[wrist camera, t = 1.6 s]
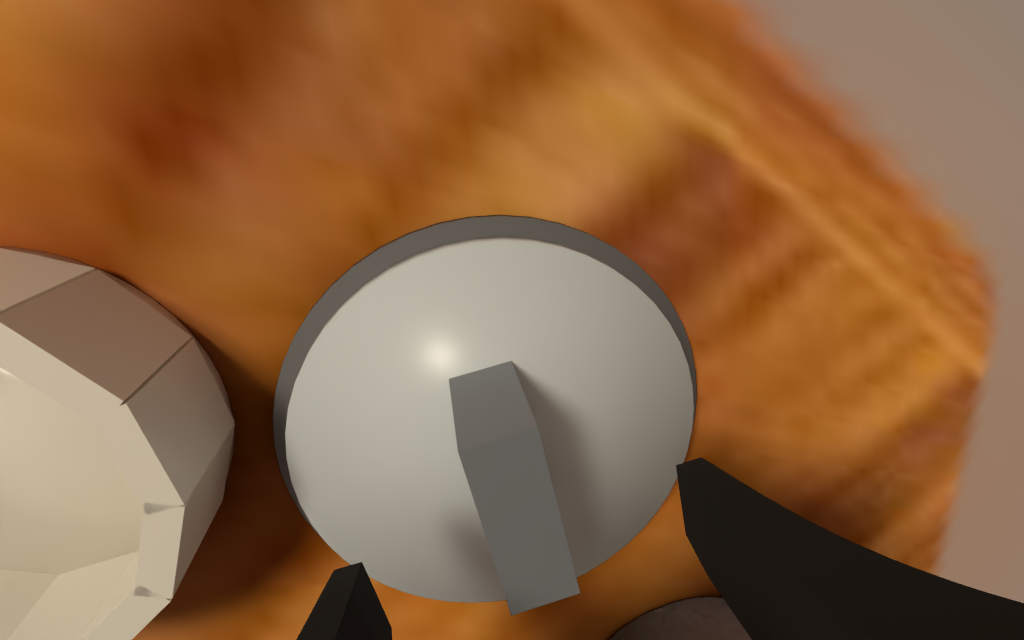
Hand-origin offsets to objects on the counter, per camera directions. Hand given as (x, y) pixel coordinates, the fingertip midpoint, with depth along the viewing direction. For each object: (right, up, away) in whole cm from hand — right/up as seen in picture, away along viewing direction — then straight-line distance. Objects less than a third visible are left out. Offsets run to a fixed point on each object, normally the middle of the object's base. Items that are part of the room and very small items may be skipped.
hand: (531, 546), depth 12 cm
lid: (-1, +2, +5) cm, 5 cm away
